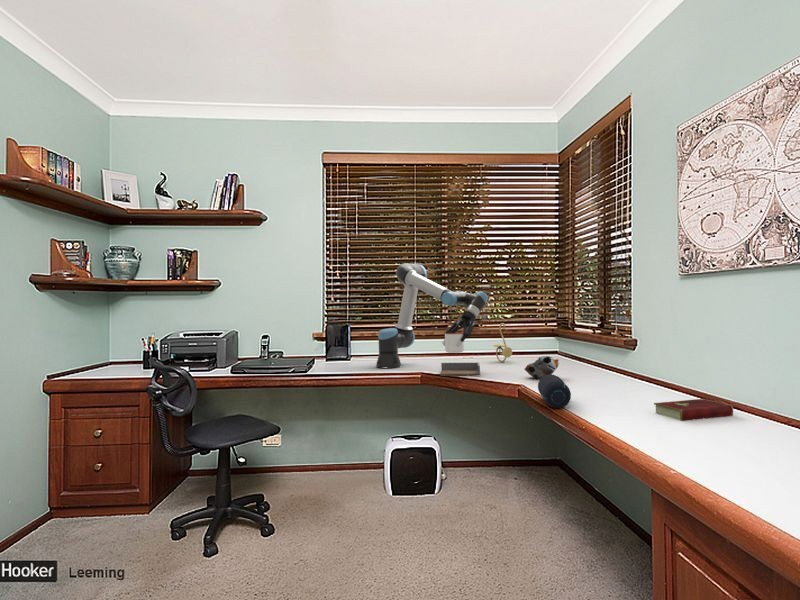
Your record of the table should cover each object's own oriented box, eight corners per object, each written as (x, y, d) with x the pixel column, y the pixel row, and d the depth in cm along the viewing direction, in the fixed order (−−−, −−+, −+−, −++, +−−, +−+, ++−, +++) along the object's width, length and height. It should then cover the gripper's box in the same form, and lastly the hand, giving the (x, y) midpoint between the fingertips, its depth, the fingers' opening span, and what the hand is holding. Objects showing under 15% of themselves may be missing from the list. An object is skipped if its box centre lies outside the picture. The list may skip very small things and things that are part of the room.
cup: (460, 350, 279) (460, 332, 279) (466, 352, 270) (465, 333, 270) (443, 351, 278) (442, 333, 278) (448, 353, 268) (447, 334, 268)
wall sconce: (514, 362, 316) (513, 323, 316) (501, 363, 313) (500, 323, 313) (502, 360, 329) (501, 322, 329) (490, 361, 326) (489, 322, 326)
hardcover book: (733, 417, 169) (733, 404, 169) (681, 422, 163) (681, 409, 163) (703, 409, 180) (703, 397, 180) (654, 414, 175) (653, 402, 175)
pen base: (441, 371, 284) (441, 369, 284) (479, 371, 281) (479, 369, 281) (440, 376, 269) (440, 373, 269) (480, 375, 266) (480, 373, 266)
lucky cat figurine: (541, 374, 265) (554, 352, 262) (554, 387, 255) (567, 363, 251) (519, 368, 259) (532, 345, 256) (531, 381, 249) (544, 357, 245)
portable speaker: (573, 410, 182) (572, 383, 182) (544, 410, 183) (544, 382, 183) (562, 397, 207) (561, 372, 207) (536, 397, 208) (536, 372, 208)
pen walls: (441, 369, 284) (441, 362, 284) (479, 369, 281) (479, 362, 281) (440, 373, 269) (440, 366, 269) (480, 373, 266) (479, 366, 266)
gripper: (488, 319, 274) (469, 350, 264) (459, 319, 292) (440, 348, 282) (481, 310, 271) (461, 341, 261) (452, 310, 289) (432, 339, 279)
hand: (450, 345), depth 272 cm, fingers closed on cup, 10 cm apart
